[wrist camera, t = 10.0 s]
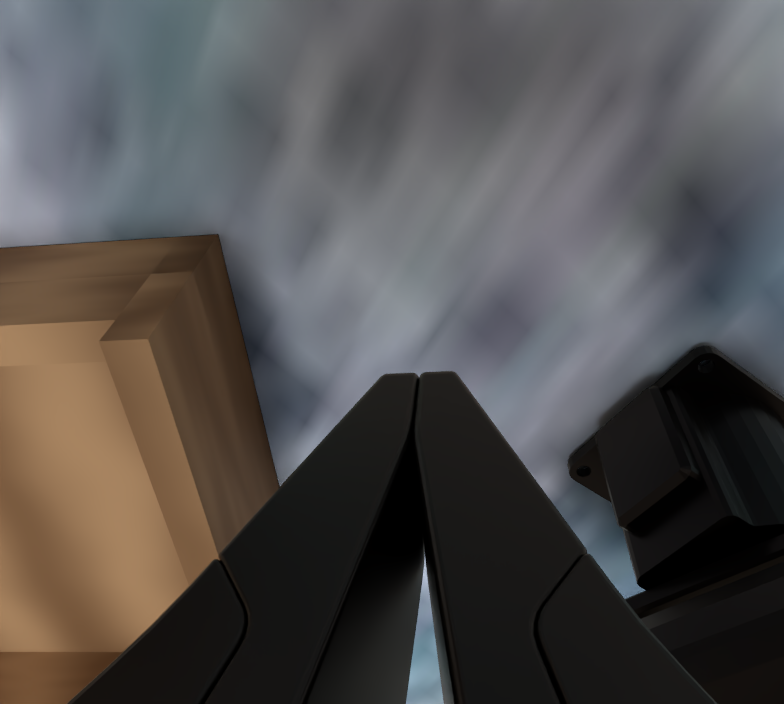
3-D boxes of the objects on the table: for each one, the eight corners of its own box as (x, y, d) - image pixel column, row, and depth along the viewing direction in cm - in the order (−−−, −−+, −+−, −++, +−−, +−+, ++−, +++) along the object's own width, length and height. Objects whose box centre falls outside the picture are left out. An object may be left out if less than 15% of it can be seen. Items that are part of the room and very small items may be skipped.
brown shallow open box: (218, 234, 22) (148, 339, 17) (311, 618, 31) (284, 757, 26) (-257, 264, 23) (-451, 367, 18) (-31, 619, 33) (-118, 750, 28)
